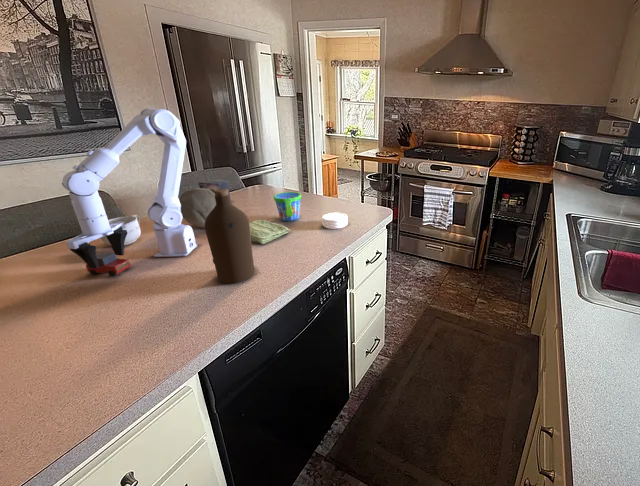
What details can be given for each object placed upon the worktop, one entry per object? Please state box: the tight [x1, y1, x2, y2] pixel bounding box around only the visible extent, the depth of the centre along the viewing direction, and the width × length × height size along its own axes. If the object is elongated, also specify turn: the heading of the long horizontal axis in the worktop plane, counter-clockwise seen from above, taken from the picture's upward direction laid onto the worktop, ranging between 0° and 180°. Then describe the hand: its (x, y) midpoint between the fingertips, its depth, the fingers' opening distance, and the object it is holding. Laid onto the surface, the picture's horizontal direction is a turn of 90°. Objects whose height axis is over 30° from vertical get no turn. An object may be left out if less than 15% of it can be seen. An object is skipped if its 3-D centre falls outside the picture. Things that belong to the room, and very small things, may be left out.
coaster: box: [321, 212, 349, 230], centre depth 129 cm, size 10×10×4 cm
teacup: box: [100, 214, 142, 246], centre depth 111 cm, size 14×11×8 cm
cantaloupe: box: [179, 187, 216, 229], centre depth 123 cm, size 14×14×15 cm
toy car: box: [85, 251, 132, 277], centre depth 92 cm, size 9×5×5 cm, turn 84°
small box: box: [198, 178, 232, 203], centre depth 151 cm, size 11×6×10 cm, turn 81°
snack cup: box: [273, 191, 302, 222], centre depth 133 cm, size 16×10×10 cm
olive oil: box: [204, 188, 255, 284], centre depth 88 cm, size 11×11×25 cm
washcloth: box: [249, 219, 290, 245], centre depth 118 cm, size 13×18×3 cm
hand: (107, 261), depth 92 cm, fingers open, 7 cm apart
